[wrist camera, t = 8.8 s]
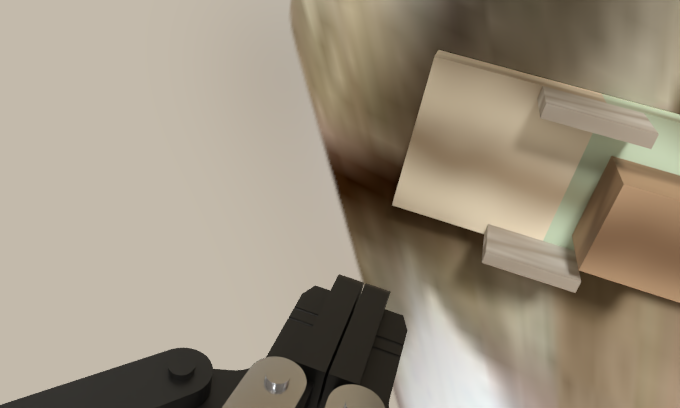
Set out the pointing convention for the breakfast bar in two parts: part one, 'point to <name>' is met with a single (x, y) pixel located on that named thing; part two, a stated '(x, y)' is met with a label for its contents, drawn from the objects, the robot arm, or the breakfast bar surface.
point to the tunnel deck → (522, 159)
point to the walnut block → (633, 229)
